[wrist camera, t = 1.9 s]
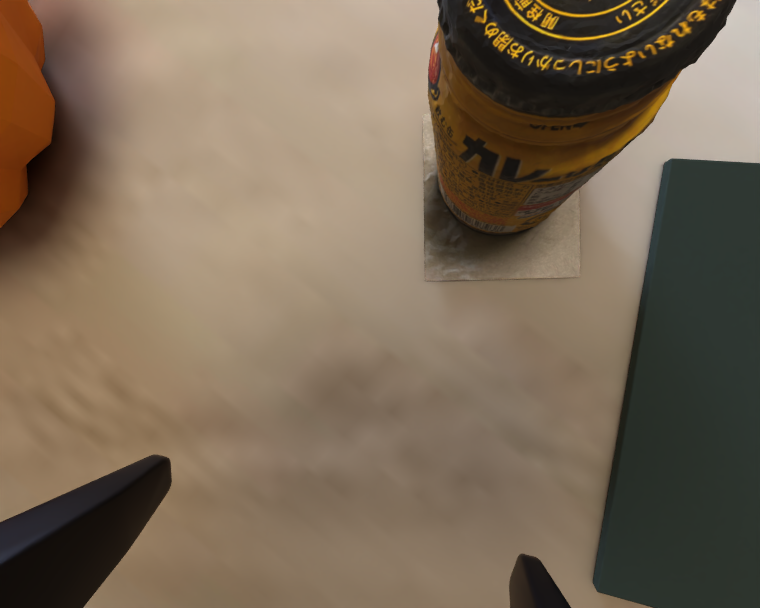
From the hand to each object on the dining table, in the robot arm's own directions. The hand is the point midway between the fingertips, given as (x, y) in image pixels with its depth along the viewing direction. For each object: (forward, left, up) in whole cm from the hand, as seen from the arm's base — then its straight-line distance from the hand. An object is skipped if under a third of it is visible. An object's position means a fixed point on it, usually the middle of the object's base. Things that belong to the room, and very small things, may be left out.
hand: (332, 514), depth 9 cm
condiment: (+11, -4, -11) cm, 16 cm away
